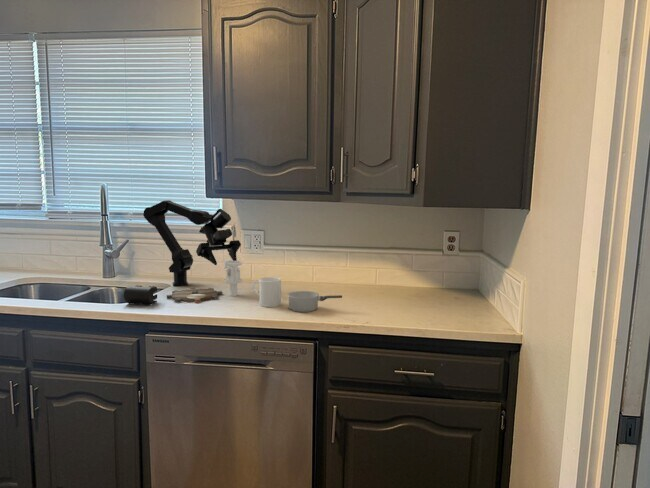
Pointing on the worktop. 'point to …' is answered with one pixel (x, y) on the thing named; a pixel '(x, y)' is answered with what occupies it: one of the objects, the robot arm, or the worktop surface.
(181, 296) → the sprocket plate
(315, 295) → the saucepan
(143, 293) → the end cap
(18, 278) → the worktop surface
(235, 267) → the light grey tall piece
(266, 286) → the mug
